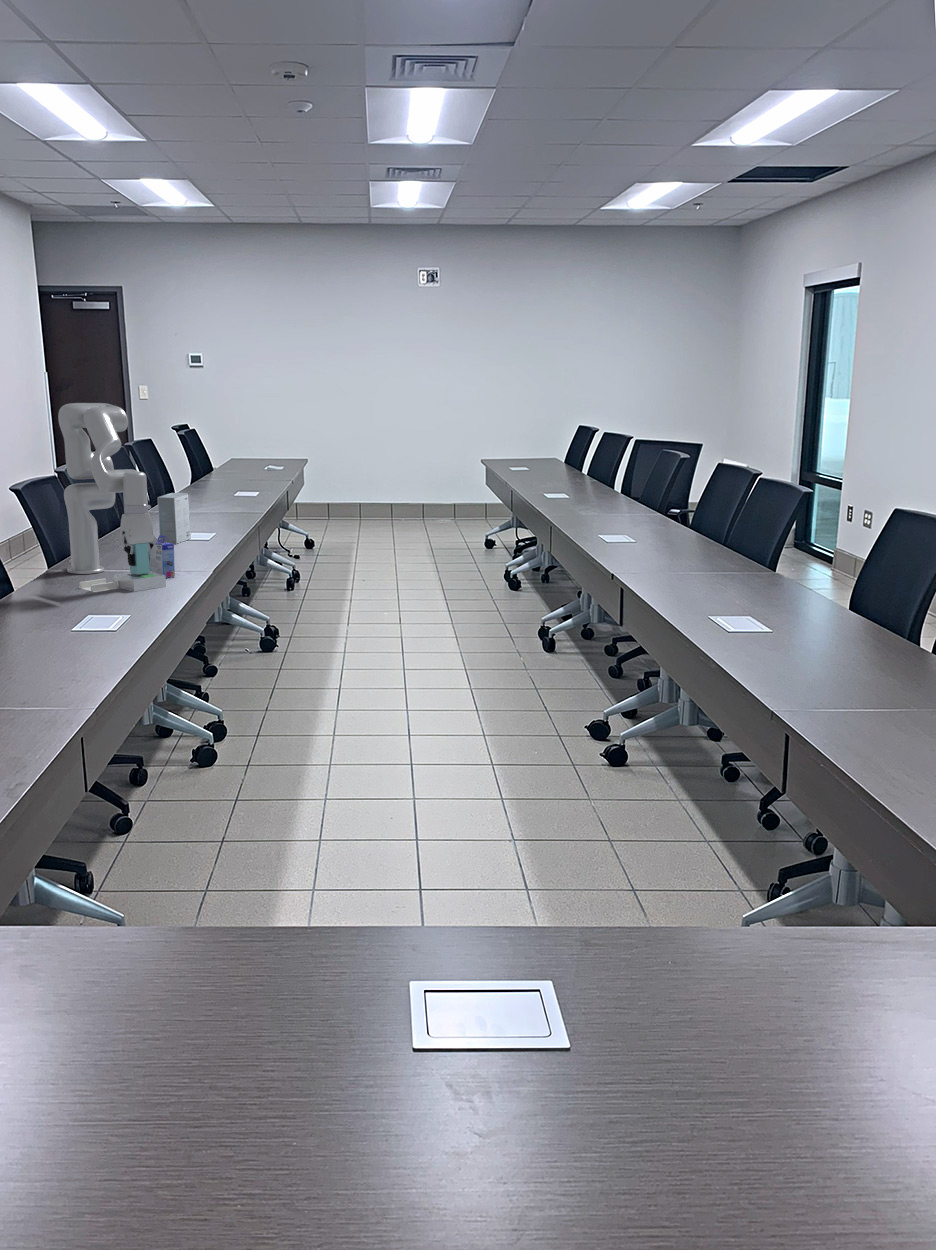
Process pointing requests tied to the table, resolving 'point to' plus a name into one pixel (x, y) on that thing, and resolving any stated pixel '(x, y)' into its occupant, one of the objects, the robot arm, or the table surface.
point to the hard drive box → (174, 517)
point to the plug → (141, 559)
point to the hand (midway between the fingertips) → (139, 564)
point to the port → (140, 581)
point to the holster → (98, 585)
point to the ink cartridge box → (162, 558)
